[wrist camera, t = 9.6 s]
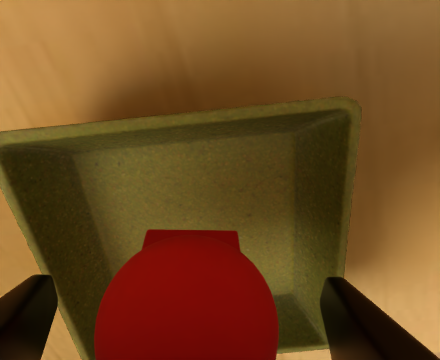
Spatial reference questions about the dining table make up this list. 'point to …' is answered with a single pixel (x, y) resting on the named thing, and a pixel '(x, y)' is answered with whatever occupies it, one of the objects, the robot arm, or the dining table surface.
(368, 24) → the dining table surface
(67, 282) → the green shallow tray
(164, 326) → the strawberry
